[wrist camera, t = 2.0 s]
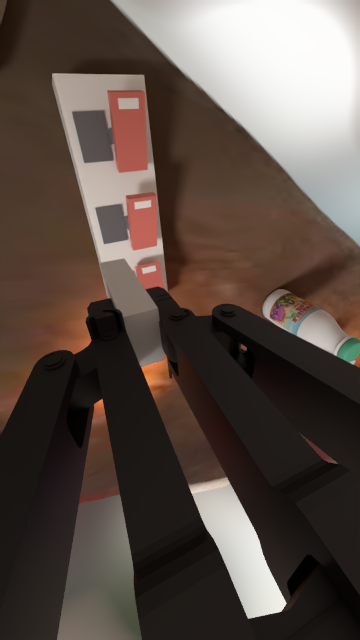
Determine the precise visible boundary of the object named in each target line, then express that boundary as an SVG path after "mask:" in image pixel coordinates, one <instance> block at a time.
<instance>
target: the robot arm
mask: <svg viewBox="0 0 360 640" xmlns="http://www.w3.org/2000/svg"><path fill="white" fill-rule="evenodd" d="M99 265H100V269H101V273H102V277H103V281H104V285H105V289H106V292H107V296H108V299H105V300H100V301H96V302H92V303H90V305H89V307H88V308H87V309H88V314H89V316H88V317H87V318H86V324H87V327H88V330H89V333H90V336H91V339H92V341H91V343H90V344H89V346H87V347H86V348H85V349H84V350H82V351H80V352H78V353H76V354H73V353H72V352H70V351H67V350H59V351H55V352H51V353H49V354H47V355H45V356H44V357H42V358H41V359H40V360H38V362H37V363H36V364H35V366H34V368H33V370H32V372H31V374H30V376H29V378H28V380H27V382H26V384H25V386H24V388H23V390H22V393H21V395H20V397H19V399H18V401H17V403H16V405H15V407H14V409H13V411H12V413H11V415H10V418H9V420H8V422H7V424H6V426H5V428H4V430H3V432H2V434H1V436H0V640H57V635H58V628H59V622H60V616H61V610H62V604H63V598H64V592H65V585H66V578H67V573H68V567H69V560H70V554H71V548H72V542H73V536H74V529H75V523H76V516H77V511H78V505H79V499H80V492H81V486H82V480H83V474H84V468H85V461H86V455H87V449H88V443H89V437H90V430H91V424H92V418H93V412H94V404H95V403H96V402H98V401H99V400H101V399H102V398H103V404H104V409H105V415H106V420H107V425H108V431H109V436H110V442H111V447H112V452H113V458H114V463H115V469H116V474H117V479H118V485H119V490H120V496H121V501H122V506H123V512H124V517H125V523H126V528H127V533H128V538H129V544H130V549H131V555H132V561H133V568H134V590H135V599H136V605H137V612H138V618H139V624H140V630H141V636H142V640H360V368H359V367H357V366H355V365H353V364H351V363H349V362H347V361H345V360H343V359H341V358H339V357H337V356H335V355H333V354H331V353H329V352H328V351H326V350H324V349H322V348H320V347H318V346H316V345H314V344H312V343H310V342H308V341H306V340H304V339H302V338H300V337H298V336H296V335H294V334H292V333H290V332H288V331H286V330H284V329H282V328H280V327H278V326H276V325H275V324H273V323H271V322H269V321H267V320H265V319H263V318H261V317H259V316H257V315H255V314H253V313H251V312H249V311H247V310H245V309H243V308H241V307H239V306H236V305H233V304H221V305H218V306H216V307H215V308H213V310H212V315H210V316H195V315H194V313H193V312H192V311H190V310H189V309H185V308H180V307H179V305H178V304H177V303H176V302H175V301H174V299H173V298H172V297H171V296H170V295H169V293H168V292H167V291H166V290H165V289H163V288H161V287H159V286H157V287H153V288H148V289H145V288H144V287H143V285H142V284H141V282H140V281H139V279H138V278H137V276H136V275H135V273H134V272H133V270H132V269H131V267H130V266H129V265H128V263H127V262H126V260H125V259H124V258H123V259H118V260H112V261H107V262H102V263H99ZM241 344H242V345H244V346H245V347H247V350H246V351H245V350H243V349H241ZM164 352H165V354H166V356H167V361H168V369H169V376H170V379H171V378H172V374H173V376H174V378H175V380H176V382H177V383H178V385H179V387H180V389H181V391H182V393H183V395H184V397H185V399H186V400H187V402H188V404H189V406H190V408H191V410H192V412H193V414H194V416H195V417H196V419H197V421H198V423H199V425H200V427H201V429H202V431H203V433H204V434H205V436H206V438H207V440H208V442H209V444H210V446H211V448H212V450H213V451H214V453H215V455H216V457H217V459H218V461H219V463H220V465H221V467H222V469H223V470H224V472H225V474H226V476H227V478H228V480H229V482H230V484H231V486H232V487H233V489H234V491H235V493H236V495H237V496H238V499H239V501H240V502H241V504H242V506H243V508H244V510H245V512H246V514H247V516H248V518H249V520H250V521H251V523H252V525H253V527H254V529H255V531H256V533H257V535H258V538H259V540H260V544H261V548H262V552H263V555H264V557H265V560H266V562H267V565H268V567H269V569H270V571H271V573H272V575H273V577H274V579H275V581H276V583H277V585H278V587H279V589H280V591H281V593H282V595H283V597H284V599H285V601H286V603H287V604H286V606H285V607H284V609H283V610H282V612H279V613H274V614H269V615H265V616H260V617H255V618H251V619H248V618H247V616H246V613H245V611H244V608H243V606H242V604H241V601H240V599H239V597H238V594H237V592H236V589H235V587H234V584H233V582H232V580H231V577H230V575H229V572H228V570H227V567H226V565H225V563H224V561H223V559H222V556H221V554H220V552H219V549H218V547H217V545H216V543H215V541H214V539H213V538H212V537H211V535H210V534H209V532H208V531H207V529H206V527H205V525H204V523H203V521H202V518H201V516H200V513H199V511H198V508H197V506H196V504H195V501H194V498H193V496H192V493H191V491H190V488H189V486H188V483H187V481H186V478H185V476H184V473H183V471H182V468H181V466H180V463H179V461H178V458H177V456H176V454H175V451H174V449H173V446H172V444H171V441H170V439H169V436H168V434H167V431H166V429H165V426H164V424H163V421H162V419H161V416H160V414H159V411H158V409H157V406H156V404H155V401H154V399H153V396H152V394H151V391H150V389H149V386H148V384H147V381H146V379H145V376H144V374H143V371H142V369H141V367H142V366H145V365H148V364H152V363H155V362H158V361H161V360H164V359H165V358H164ZM298 432H300V433H301V434H302V435H303V436H305V437H306V438H307V439H308V440H310V441H311V442H312V443H313V444H315V445H316V446H317V447H318V448H320V449H321V450H322V451H323V452H325V453H326V454H327V455H328V456H330V457H331V458H332V459H333V460H335V461H336V462H337V463H338V464H334V463H328V462H327V461H325V460H323V459H322V458H321V457H320V456H319V455H318V454H317V453H316V452H315V451H314V450H313V448H312V447H311V446H310V445H309V444H308V443H307V442H306V440H305V439H304V438H303V437H302V436H301V435H300V434H299V433H298Z"/></svg>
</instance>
